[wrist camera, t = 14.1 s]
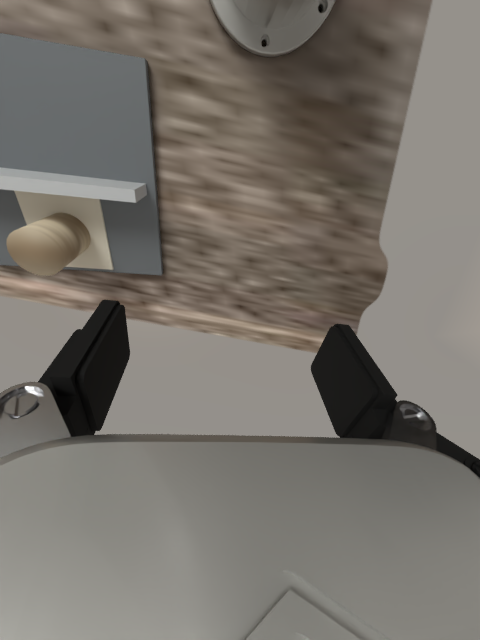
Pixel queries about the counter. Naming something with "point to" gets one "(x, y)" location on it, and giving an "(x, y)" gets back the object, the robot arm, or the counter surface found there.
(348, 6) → the counter surface
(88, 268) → the fence board
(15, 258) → the birch cylinder
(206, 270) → the counter surface
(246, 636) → the robot arm
